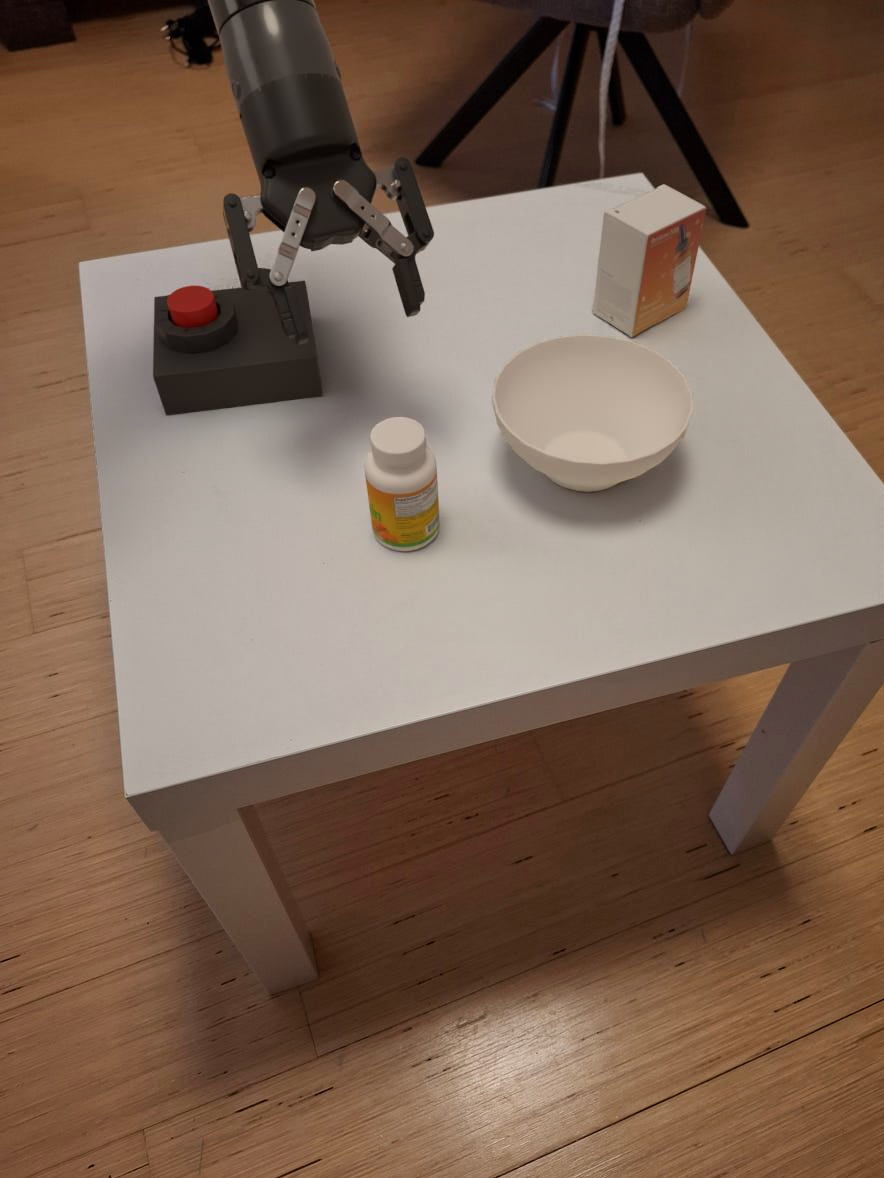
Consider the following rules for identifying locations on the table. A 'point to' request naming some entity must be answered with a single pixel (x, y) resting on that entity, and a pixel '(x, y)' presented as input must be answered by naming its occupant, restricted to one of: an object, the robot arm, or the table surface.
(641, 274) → the small box
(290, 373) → the red push button box
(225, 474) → the table surface
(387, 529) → the supplement bottle
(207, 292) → the power button
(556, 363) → the bowl
